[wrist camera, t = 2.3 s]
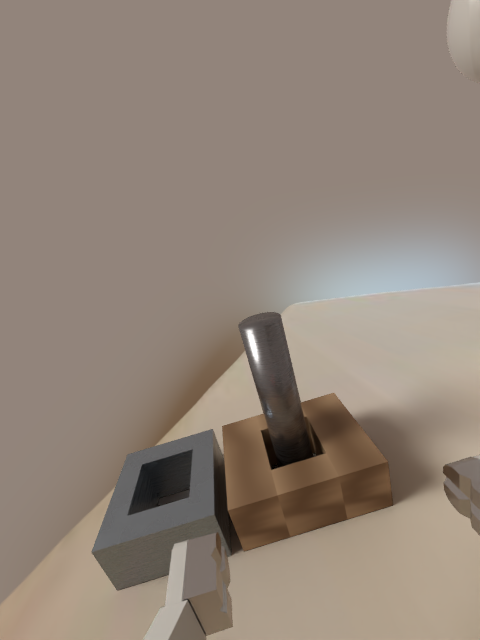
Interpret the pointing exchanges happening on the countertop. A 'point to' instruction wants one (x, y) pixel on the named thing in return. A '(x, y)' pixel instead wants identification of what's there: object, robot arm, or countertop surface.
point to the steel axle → (276, 386)
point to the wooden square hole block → (302, 476)
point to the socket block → (162, 508)
